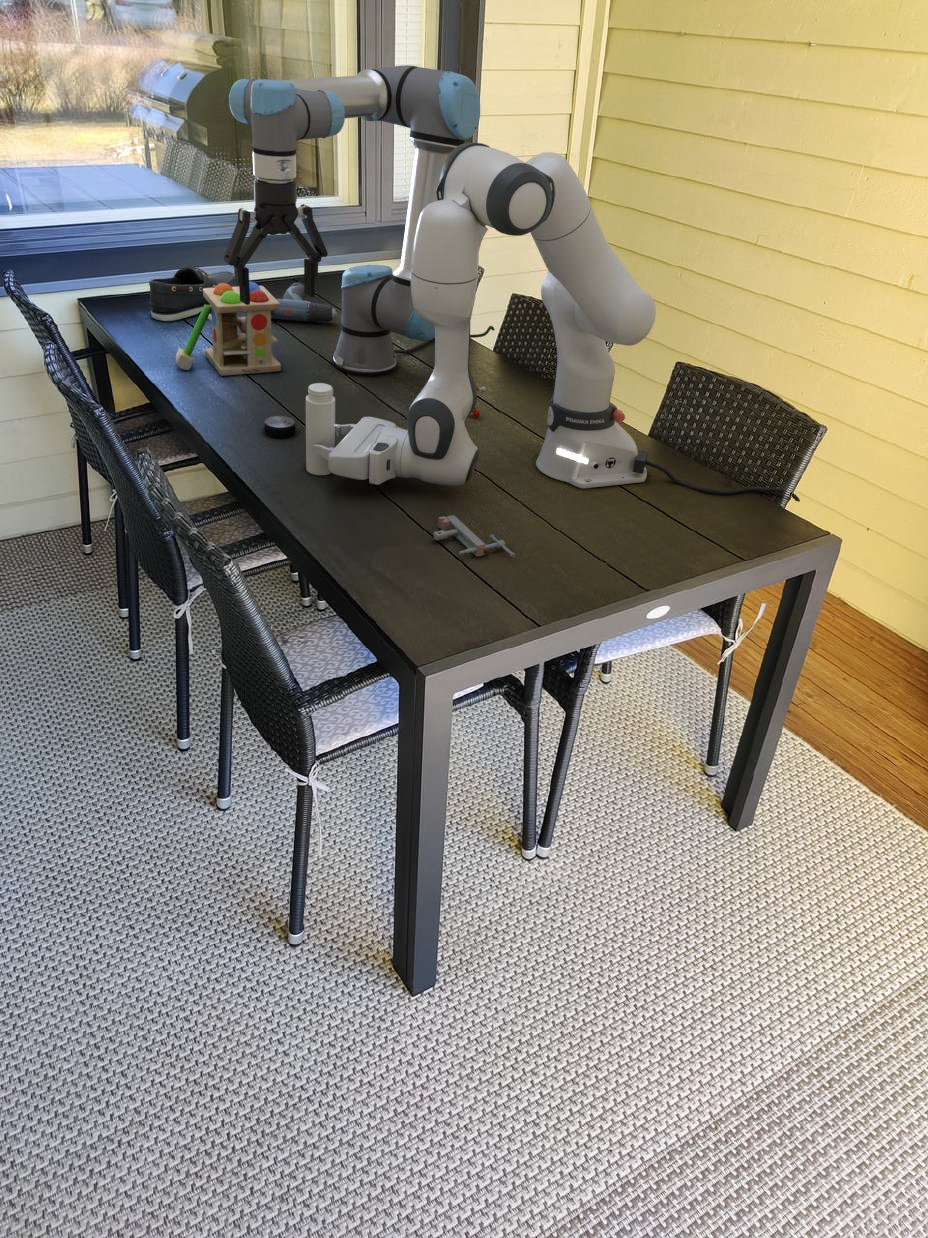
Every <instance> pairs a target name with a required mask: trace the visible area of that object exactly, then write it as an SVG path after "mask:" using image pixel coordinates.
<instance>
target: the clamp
mask: <svg viewBox="0 0 928 1238" xmlns="http://www.w3.org/2000/svg"><path fill="white" fill-rule="evenodd" d="M437 528H438V529H440V530H437V531H433V539H434V540H436V541H441V540H447V538H449V537H453V536H454V537H455V538H456V539H457V540H458V541H459V542H460V543H461V544H462V545H463V546H465V547H466V549H464V550H459V551H458V554H459V555H464V554H465V555H467V554H468V555H469V554H473V555H474V556H475V557H482V556H484V555H485V552H484V551H486V550H491V549H495V548H496V549H503V550H504V551H505V552H506V553H507V554H509V556H510V558H511V559H513V558H515V557H516V556H517V555H516V552H512V550H510V549H509V548H508V547H506V542H505V540H504V539H499V540H498V538H496V536H495V534H493V533H492V534H490V535H489V540H493V543H488V544H486V543H485V542H484V541H483V540H481V539H480V538H479V537H478V536H477V535H476V534H475V533H474V532H473V531H471V529H470V528H469V527H468V526H467V525H465V524H464V523H463V522H462V521H461V520H460V519H459V518H458V517H457V516H456V515H448V516H445V515H444V516H439V517H438V523H437Z"/></svg>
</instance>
